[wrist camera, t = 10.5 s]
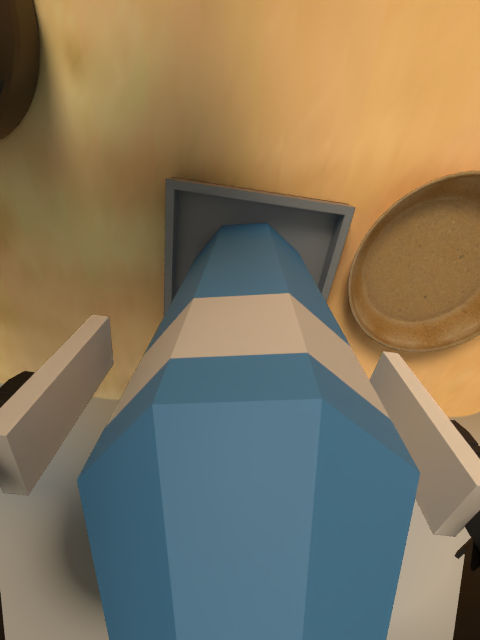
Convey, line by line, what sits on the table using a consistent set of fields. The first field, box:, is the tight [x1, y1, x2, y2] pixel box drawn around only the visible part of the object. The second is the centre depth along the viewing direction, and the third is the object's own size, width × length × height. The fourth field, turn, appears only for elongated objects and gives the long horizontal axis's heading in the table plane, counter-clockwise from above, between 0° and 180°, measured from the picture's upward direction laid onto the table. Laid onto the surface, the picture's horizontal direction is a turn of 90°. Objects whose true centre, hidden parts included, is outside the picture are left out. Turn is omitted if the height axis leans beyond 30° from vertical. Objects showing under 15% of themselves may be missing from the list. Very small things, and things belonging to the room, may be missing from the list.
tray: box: [164, 177, 355, 316], centre depth 25 cm, size 14×14×2 cm
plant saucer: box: [348, 171, 480, 352], centre depth 24 cm, size 15×15×3 cm
